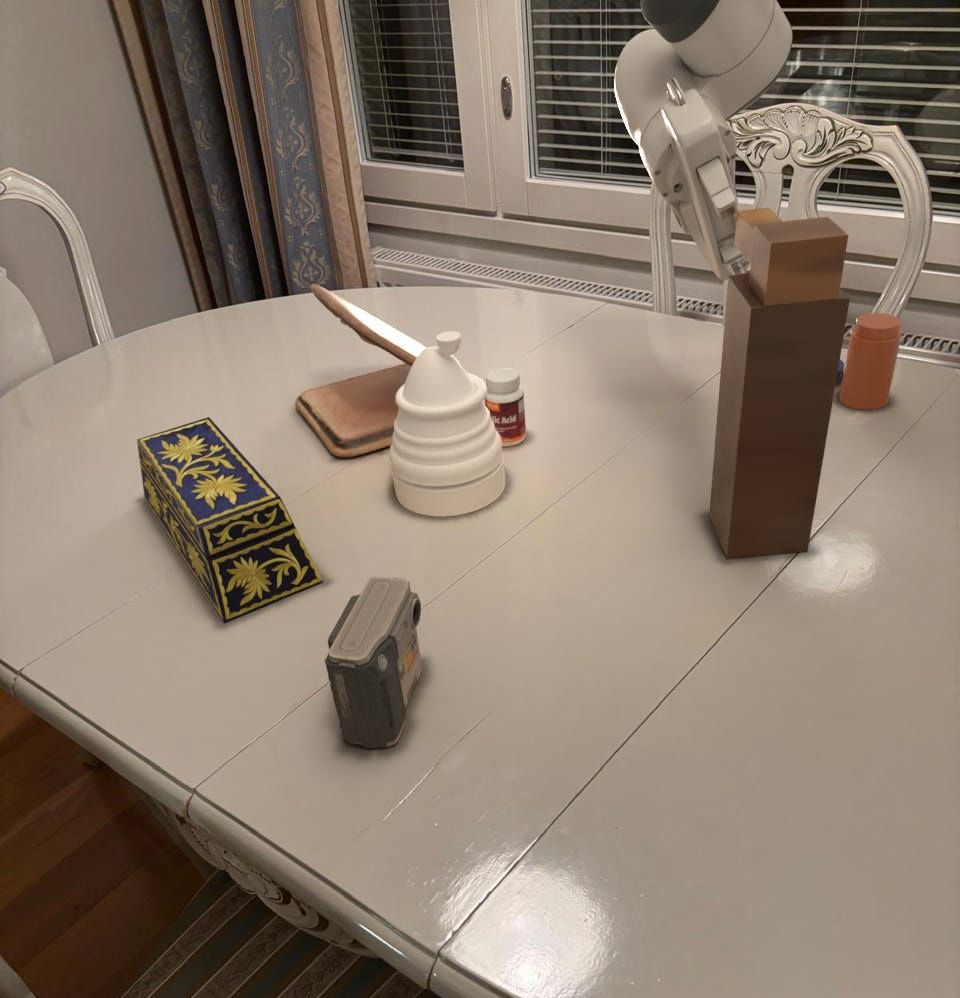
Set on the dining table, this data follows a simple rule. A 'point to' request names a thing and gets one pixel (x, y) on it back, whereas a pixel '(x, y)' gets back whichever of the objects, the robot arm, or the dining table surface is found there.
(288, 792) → the dining table surface
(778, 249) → the brown wooden block
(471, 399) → the honey pot
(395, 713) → the camera
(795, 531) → the pedestal
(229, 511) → the decorative box
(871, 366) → the jar
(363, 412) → the case
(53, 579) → the dining table surface
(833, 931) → the dining table surface
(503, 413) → the pill bottle
